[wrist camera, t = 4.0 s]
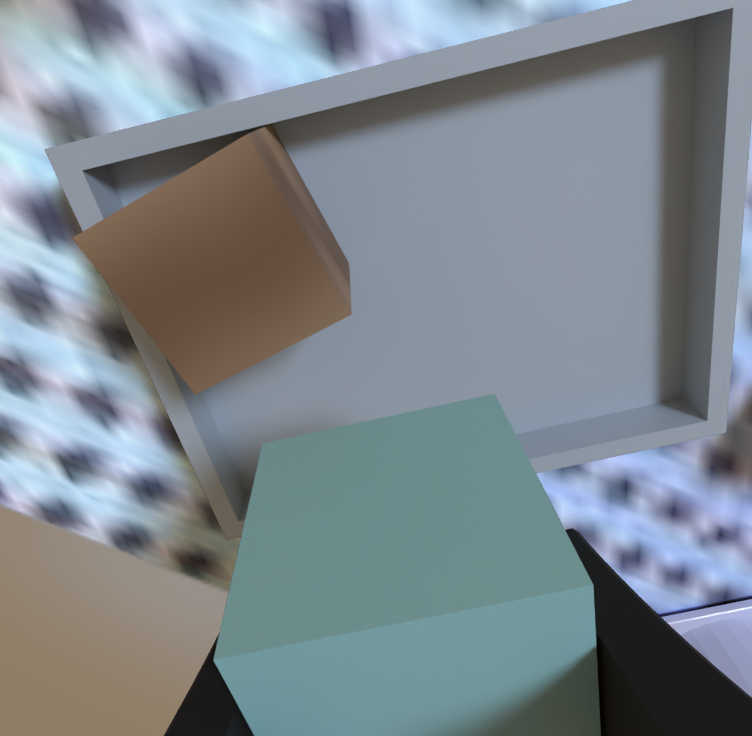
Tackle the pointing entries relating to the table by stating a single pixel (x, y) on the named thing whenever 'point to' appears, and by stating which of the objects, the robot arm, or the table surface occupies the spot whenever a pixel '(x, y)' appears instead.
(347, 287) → the walnut cube
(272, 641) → the teal block
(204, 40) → the table surface
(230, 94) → the table surface
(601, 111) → the tray
